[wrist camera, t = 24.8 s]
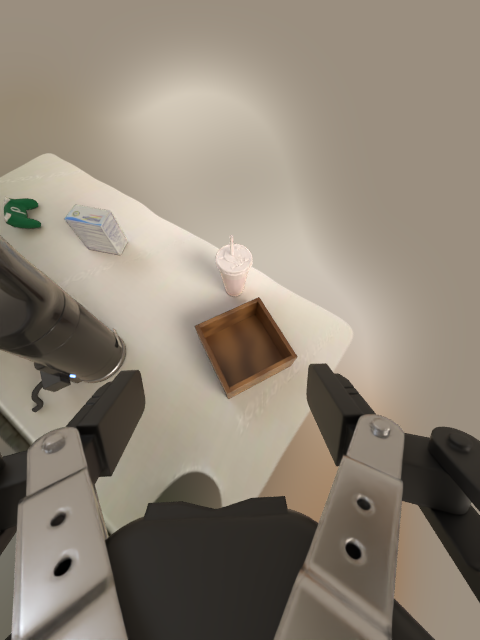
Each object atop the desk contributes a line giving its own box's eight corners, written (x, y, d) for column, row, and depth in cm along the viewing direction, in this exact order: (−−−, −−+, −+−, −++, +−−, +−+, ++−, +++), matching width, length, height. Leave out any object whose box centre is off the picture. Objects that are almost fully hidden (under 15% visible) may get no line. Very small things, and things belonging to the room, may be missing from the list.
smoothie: (237, 270, 52) (237, 217, 40) (256, 291, 50) (262, 241, 37) (213, 286, 51) (204, 235, 38) (231, 307, 48) (229, 261, 36)
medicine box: (129, 241, 56) (111, 209, 48) (120, 256, 54) (100, 225, 46) (97, 235, 56) (74, 203, 49) (87, 250, 54) (62, 218, 47)
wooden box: (228, 399, 41) (227, 394, 36) (199, 337, 46) (194, 325, 41) (291, 365, 43) (297, 356, 39) (257, 310, 48) (259, 296, 43)
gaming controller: (35, 212, 62) (2, 202, 57) (38, 199, 60) (4, 188, 55) (38, 236, 58) (3, 228, 54) (42, 224, 56) (6, 215, 52)
